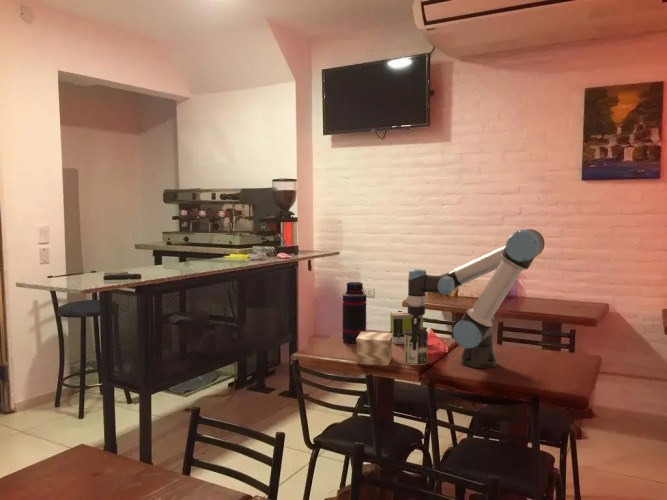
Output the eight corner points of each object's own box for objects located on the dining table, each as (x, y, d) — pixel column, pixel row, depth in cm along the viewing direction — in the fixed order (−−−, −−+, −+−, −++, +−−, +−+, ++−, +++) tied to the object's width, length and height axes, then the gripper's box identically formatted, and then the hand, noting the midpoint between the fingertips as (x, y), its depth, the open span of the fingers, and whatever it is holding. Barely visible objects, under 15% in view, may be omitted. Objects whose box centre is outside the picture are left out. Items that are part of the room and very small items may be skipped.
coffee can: (425, 360, 252) (426, 328, 251) (429, 366, 242) (429, 334, 241) (402, 359, 252) (402, 328, 251) (404, 366, 242) (405, 333, 241)
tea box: (418, 339, 292) (419, 311, 291) (423, 344, 282) (423, 314, 281) (389, 339, 291) (390, 311, 290) (393, 344, 281) (393, 314, 280)
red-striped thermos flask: (366, 344, 280) (367, 284, 278) (342, 344, 280) (343, 284, 278) (364, 338, 294) (365, 280, 292) (341, 337, 294) (342, 280, 292)
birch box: (392, 357, 256) (393, 333, 256) (389, 365, 242) (389, 340, 241) (360, 355, 259) (361, 331, 258) (355, 363, 245) (355, 338, 244)
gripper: (409, 300, 258) (408, 345, 260) (405, 309, 234) (404, 359, 235) (426, 300, 257) (425, 346, 258) (423, 310, 232) (422, 361, 234)
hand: (415, 353), depth 247 cm, fingers open, 13 cm apart
